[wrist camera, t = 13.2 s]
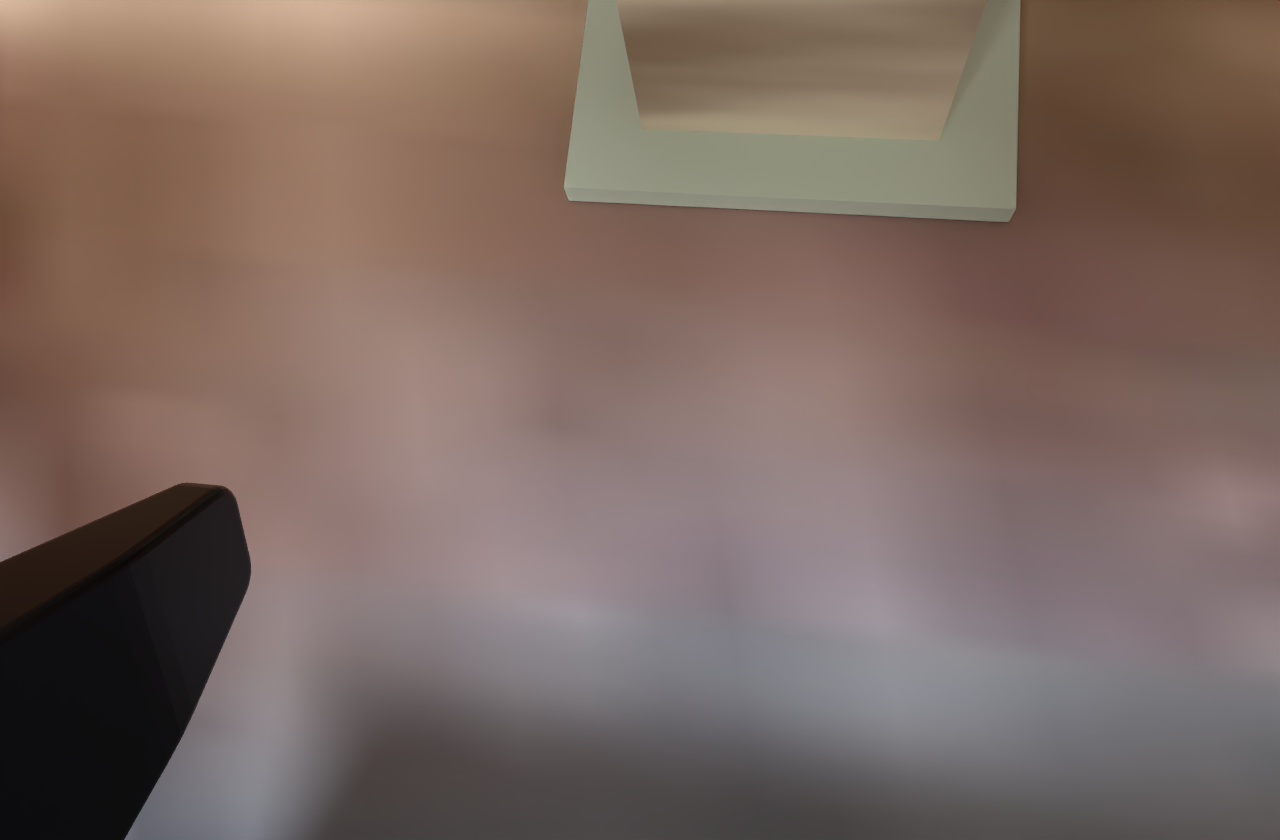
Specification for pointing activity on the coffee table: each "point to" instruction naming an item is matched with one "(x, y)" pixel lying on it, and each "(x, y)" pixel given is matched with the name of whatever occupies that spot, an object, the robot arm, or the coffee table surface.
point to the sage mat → (801, 145)
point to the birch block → (798, 65)
